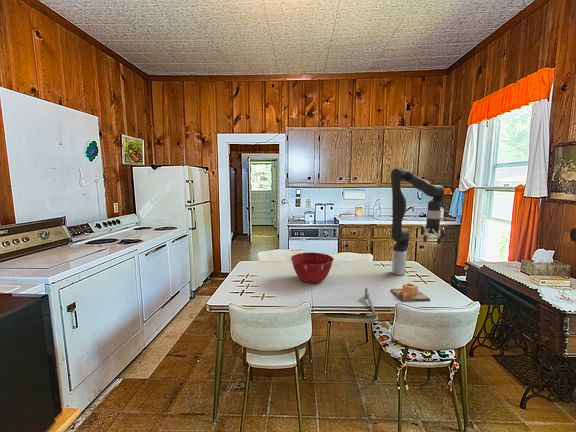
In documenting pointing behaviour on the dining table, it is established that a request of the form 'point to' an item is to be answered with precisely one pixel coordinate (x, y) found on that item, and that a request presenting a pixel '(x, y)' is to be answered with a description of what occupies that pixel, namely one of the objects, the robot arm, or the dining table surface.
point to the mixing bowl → (312, 266)
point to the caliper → (369, 299)
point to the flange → (408, 290)
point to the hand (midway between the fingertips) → (431, 243)
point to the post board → (417, 297)
